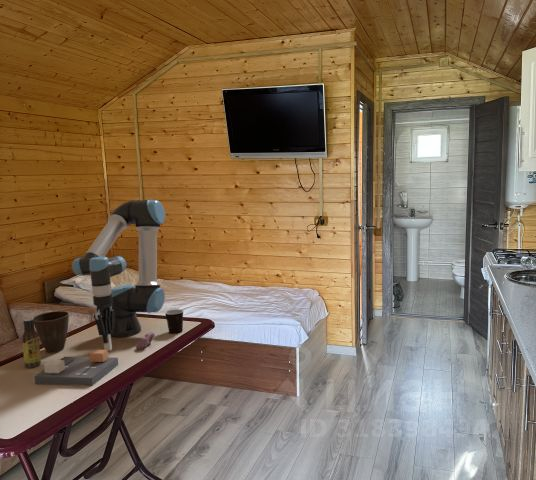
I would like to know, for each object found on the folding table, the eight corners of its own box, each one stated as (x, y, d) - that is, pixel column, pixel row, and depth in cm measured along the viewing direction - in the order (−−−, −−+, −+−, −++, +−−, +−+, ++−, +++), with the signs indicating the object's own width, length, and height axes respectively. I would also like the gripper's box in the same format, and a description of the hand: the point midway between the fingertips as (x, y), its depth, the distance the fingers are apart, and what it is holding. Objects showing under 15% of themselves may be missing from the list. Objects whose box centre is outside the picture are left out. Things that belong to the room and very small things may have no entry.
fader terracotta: (94, 357, 207) (94, 349, 207) (108, 358, 206) (107, 349, 206) (89, 361, 203) (88, 353, 203) (103, 361, 202) (102, 353, 202)
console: (65, 363, 213) (64, 356, 212) (118, 364, 208) (117, 357, 208) (35, 383, 193) (34, 376, 193) (92, 385, 189) (91, 377, 188)
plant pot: (64, 355, 223) (60, 320, 220) (30, 356, 223) (26, 321, 221) (77, 343, 238) (73, 310, 235) (46, 345, 238) (42, 311, 236)
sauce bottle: (31, 369, 208) (25, 322, 205) (21, 367, 211) (15, 321, 208) (45, 363, 214) (39, 318, 211) (35, 361, 217) (29, 316, 214)
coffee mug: (169, 329, 251) (167, 309, 249) (186, 328, 251) (184, 308, 249) (163, 337, 239) (161, 316, 238) (181, 336, 239) (179, 315, 238)
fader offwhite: (51, 368, 198) (50, 360, 198) (65, 368, 197) (64, 360, 197) (44, 372, 195) (43, 364, 194) (58, 373, 193) (57, 364, 193)
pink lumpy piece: (143, 353, 224) (148, 339, 222) (134, 348, 225) (139, 335, 223) (152, 345, 234) (157, 332, 232) (144, 341, 234) (149, 328, 233)
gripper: (102, 290, 216) (107, 344, 219) (85, 298, 203) (91, 355, 206) (118, 290, 214) (123, 344, 218) (102, 298, 202) (108, 355, 205)
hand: (108, 349), depth 212 cm, fingers closed
